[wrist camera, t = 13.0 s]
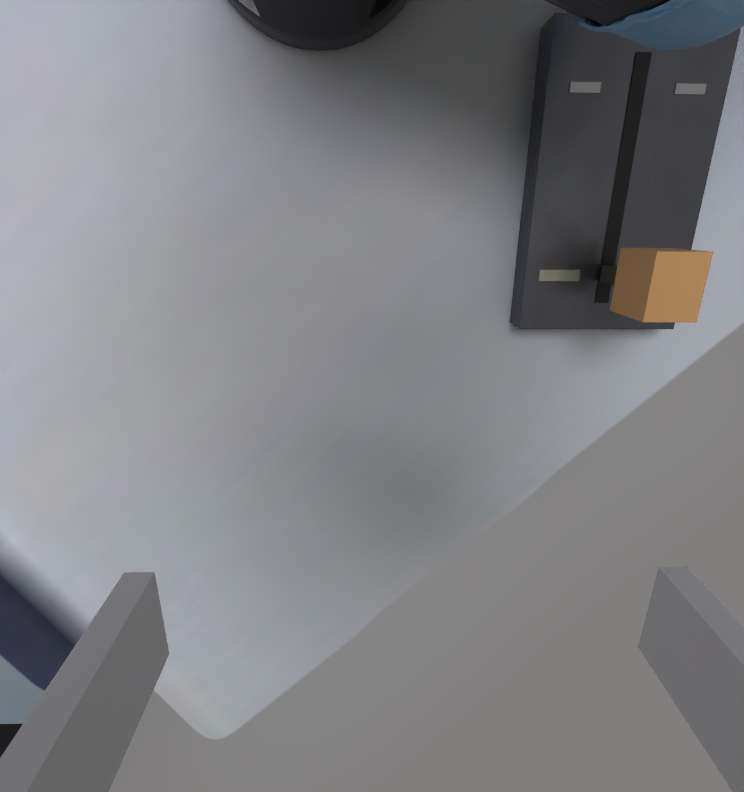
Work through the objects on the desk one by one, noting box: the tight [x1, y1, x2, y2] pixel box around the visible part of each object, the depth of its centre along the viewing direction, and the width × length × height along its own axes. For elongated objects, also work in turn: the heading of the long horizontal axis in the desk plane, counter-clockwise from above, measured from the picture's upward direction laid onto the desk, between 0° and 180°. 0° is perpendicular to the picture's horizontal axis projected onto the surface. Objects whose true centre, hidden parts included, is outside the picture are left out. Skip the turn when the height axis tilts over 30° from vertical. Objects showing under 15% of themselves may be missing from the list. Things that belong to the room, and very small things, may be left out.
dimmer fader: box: [599, 248, 713, 322], centre depth 32 cm, size 4×3×8 cm
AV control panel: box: [510, 13, 741, 329], centre depth 35 cm, size 20×12×3 cm, turn 0°
